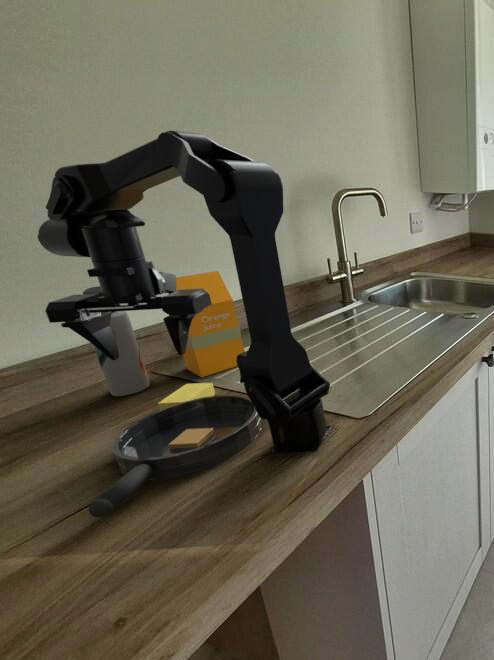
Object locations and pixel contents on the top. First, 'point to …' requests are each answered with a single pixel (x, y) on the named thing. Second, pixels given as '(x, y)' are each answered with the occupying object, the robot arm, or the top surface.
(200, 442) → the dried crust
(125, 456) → the pan
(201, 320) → the orange juice
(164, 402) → the sponge
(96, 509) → the pan handle
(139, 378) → the lotion bottle
